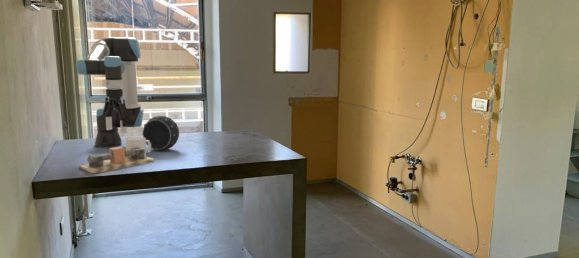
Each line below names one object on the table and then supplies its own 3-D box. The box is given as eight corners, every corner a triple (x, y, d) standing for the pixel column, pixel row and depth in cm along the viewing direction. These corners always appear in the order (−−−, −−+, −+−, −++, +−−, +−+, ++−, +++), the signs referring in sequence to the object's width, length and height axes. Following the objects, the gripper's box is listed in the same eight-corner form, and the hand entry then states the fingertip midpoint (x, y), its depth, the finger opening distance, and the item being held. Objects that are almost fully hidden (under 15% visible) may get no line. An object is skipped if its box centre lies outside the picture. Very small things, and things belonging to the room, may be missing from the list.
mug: (145, 153, 245) (144, 135, 243) (155, 156, 238) (154, 137, 236) (122, 157, 235) (121, 138, 233) (132, 160, 228) (131, 141, 226)
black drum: (173, 153, 246) (172, 118, 243) (140, 151, 250) (139, 116, 246) (181, 149, 256) (180, 115, 253) (150, 147, 260) (149, 114, 257)
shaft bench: (93, 173, 201) (92, 159, 200) (79, 168, 210) (78, 155, 209) (153, 161, 225) (153, 149, 224) (138, 157, 234) (138, 145, 233)
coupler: (109, 162, 216) (109, 148, 215) (120, 160, 221) (120, 146, 220) (114, 163, 213) (113, 149, 212) (125, 161, 218) (124, 147, 217)
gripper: (94, 87, 216) (96, 129, 220) (120, 90, 201) (122, 136, 204) (108, 86, 222) (110, 127, 226) (135, 89, 206) (137, 133, 210)
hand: (116, 131), depth 215 cm, fingers open, 13 cm apart
